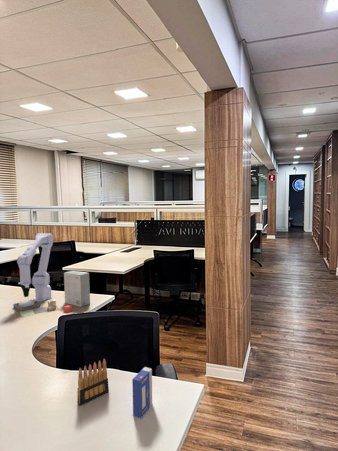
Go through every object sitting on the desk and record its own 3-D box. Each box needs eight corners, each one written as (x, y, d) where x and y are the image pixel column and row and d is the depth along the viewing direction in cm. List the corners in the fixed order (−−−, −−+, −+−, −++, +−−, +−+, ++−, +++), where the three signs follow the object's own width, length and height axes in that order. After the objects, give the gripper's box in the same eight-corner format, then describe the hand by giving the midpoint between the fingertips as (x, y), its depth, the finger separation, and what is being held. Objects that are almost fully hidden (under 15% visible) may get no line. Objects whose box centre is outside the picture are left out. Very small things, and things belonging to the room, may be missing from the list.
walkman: (141, 418, 97) (140, 380, 96) (133, 415, 98) (132, 378, 97) (153, 403, 104) (152, 367, 103) (145, 401, 105) (144, 365, 104)
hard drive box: (90, 303, 204) (89, 272, 202) (81, 307, 197) (80, 275, 196) (73, 300, 212) (72, 270, 210) (64, 303, 206) (63, 272, 204)
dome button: (30, 303, 204) (29, 299, 204) (37, 306, 198) (37, 302, 198) (15, 307, 197) (15, 303, 197) (22, 310, 191) (22, 306, 191)
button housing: (30, 303, 206) (30, 299, 205) (39, 307, 199) (39, 303, 198) (13, 308, 197) (13, 304, 197) (22, 312, 190) (21, 307, 190)
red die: (67, 310, 192) (67, 304, 192) (71, 310, 191) (71, 305, 191) (64, 312, 189) (63, 306, 189) (68, 312, 188) (68, 306, 188)
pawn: (54, 306, 198) (54, 298, 198) (56, 308, 194) (55, 300, 194) (48, 308, 196) (47, 300, 196) (49, 310, 192) (48, 301, 192)
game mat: (56, 305, 201) (56, 305, 201) (59, 309, 193) (59, 309, 193) (19, 311, 190) (19, 311, 190) (21, 316, 183) (21, 316, 183)
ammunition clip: (80, 406, 103) (78, 370, 102) (77, 403, 104) (76, 367, 103) (109, 392, 110) (108, 358, 109) (106, 390, 111) (105, 356, 110)
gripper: (16, 273, 200) (17, 294, 202) (19, 278, 188) (20, 301, 189) (29, 271, 204) (30, 292, 205) (32, 276, 191) (33, 298, 193)
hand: (26, 296), depth 197 cm, fingers closed
